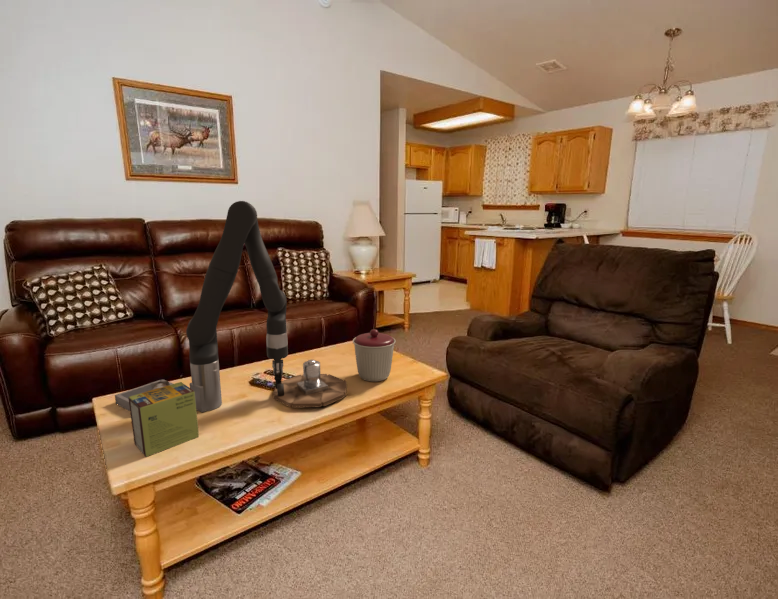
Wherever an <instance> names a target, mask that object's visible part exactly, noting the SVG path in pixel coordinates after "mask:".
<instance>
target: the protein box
mask: <svg viewBox="0 0 778 599" xmlns="http://www.w3.org/2000/svg"><path fill="white" fill-rule="evenodd" d="M128 399H129V406H130V411H129V412H130V414H129V415H130V419H131V427H132V436H133V442H134V446H136V447H137V449H138V450H139V451H140V452H141V454H143V456H144V457H145V456H146V458H147V457H150V456H152V454H153V455H155V454H157V452H158V453H160V451H161V452H162V451H165V449H166V450H168V449H171V448H174V447H176V446H179V445H181V444H184V443H186V442H188V441H191V440H195V439H196V438H199V437H200V435H199V424H198V415H197V414H198V413H197V410H196V402H195V391H194V390H192V389H191V388H190V386H188V385H186V384H185V383H184V382H182V381H179V382H176V383H173V384H172V385H169V386H165V387H161V388H158V389H154V390H151V391H148V392H144V393H140V394H137V395H134V396H130V397H128ZM173 446H174V447H173ZM154 453H155V454H154ZM149 455H150V456H149Z"/></svg>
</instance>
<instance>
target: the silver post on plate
mask: <svg viewBox="0 0 778 599" xmlns="http://www.w3.org/2000/svg"><path fill="white" fill-rule="evenodd" d="M302 370H303V371H302V372H303V373H302V375H303V376H304V381H303V382H298V383H297V387H298V388H299V389H300V390H301V391H302V392H303V393H304V394H306V395H308V394H312V393H316V392H320V391H324V390H328V385H326V384H325V383H324V382H323V381H321V375H320V374H321V362H320V361H319V360H315V359H307V361H304V362H303V364H302Z"/></svg>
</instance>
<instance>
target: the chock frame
mask: <svg viewBox="0 0 778 599" xmlns="http://www.w3.org/2000/svg"><path fill="white" fill-rule="evenodd" d="M162 381H167V380H165V379H159V380H156V381H152V382H149V383H147V384H144V385H141V386H138V387H135V388H132V389H130V390H129V389H128V390H126V391H123V392H121V393H117V394H114V399H115V401H114V402H115V405H117V404H118V405H117V406H119V407H121V408H122V409H125V410H127V411H129V412H130V406H129V399H128V397H130V396H134V395H137V394H140V393H144V392H147V391H148V390H150V389H153V388H152V386H151V384H152V383H157V382H162ZM168 382H169V384H170V385H172V384H174V383H173V382H171V381H168Z"/></svg>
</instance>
